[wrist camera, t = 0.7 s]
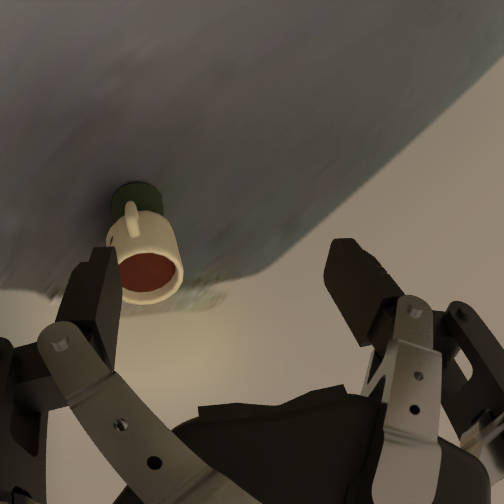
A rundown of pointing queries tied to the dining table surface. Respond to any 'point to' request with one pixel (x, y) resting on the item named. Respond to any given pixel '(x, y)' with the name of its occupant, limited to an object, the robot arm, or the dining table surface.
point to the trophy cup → (144, 245)
